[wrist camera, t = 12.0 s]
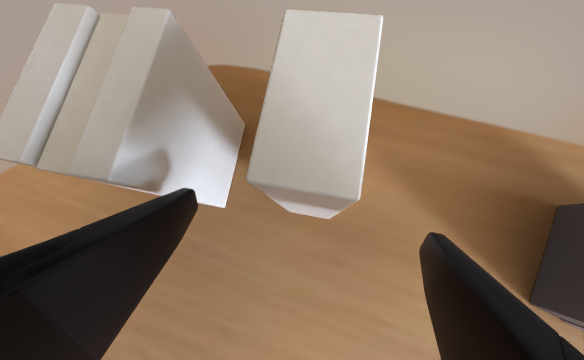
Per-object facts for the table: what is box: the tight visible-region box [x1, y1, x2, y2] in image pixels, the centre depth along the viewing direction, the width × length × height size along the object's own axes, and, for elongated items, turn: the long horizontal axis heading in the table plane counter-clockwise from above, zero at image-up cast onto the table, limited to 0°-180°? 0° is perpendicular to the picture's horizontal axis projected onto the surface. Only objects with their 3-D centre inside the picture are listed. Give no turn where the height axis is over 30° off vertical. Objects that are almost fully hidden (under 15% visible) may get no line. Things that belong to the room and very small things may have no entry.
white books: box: [0, 3, 245, 208], centre depth 13 cm, size 7×5×10 cm
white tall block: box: [246, 9, 383, 219], centre depth 12 cm, size 6×3×11 cm, turn 170°
